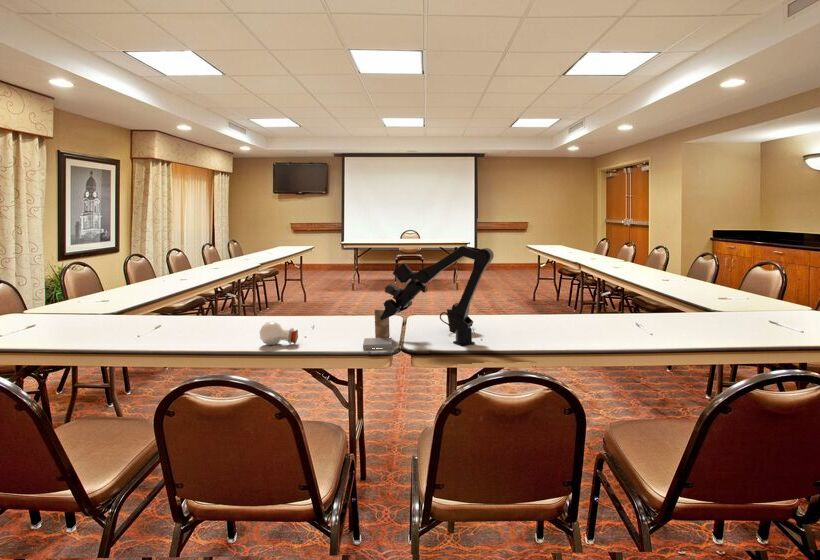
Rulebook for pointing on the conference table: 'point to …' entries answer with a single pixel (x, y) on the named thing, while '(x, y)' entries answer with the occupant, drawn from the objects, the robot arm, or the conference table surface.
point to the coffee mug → (451, 326)
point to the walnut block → (381, 324)
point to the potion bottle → (277, 334)
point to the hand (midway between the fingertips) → (385, 317)
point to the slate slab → (377, 343)
